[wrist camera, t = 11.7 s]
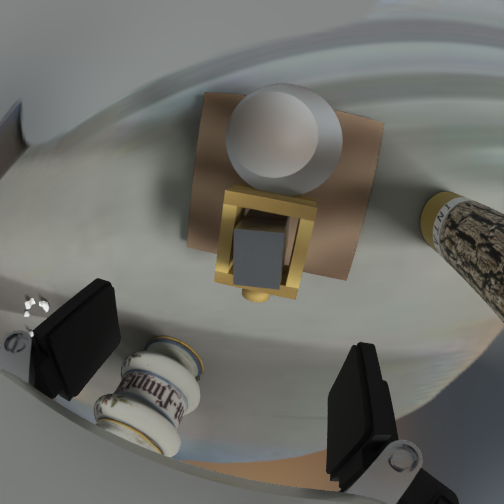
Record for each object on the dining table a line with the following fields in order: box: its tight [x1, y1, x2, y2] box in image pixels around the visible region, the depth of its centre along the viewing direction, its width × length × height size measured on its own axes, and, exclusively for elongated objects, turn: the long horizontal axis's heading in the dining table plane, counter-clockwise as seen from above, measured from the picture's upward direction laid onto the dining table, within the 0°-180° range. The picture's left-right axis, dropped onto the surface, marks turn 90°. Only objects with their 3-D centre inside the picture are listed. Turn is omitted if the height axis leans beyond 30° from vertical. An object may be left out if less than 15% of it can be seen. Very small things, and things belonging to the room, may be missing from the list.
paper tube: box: [420, 192, 504, 322], centre depth 15 cm, size 7×7×25 cm
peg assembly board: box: [187, 84, 384, 302], centre depth 22 cm, size 18×18×16 cm
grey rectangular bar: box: [233, 209, 290, 290], centre depth 24 cm, size 4×3×11 cm
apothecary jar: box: [94, 336, 204, 457], centre depth 33 cm, size 12×12×18 cm
